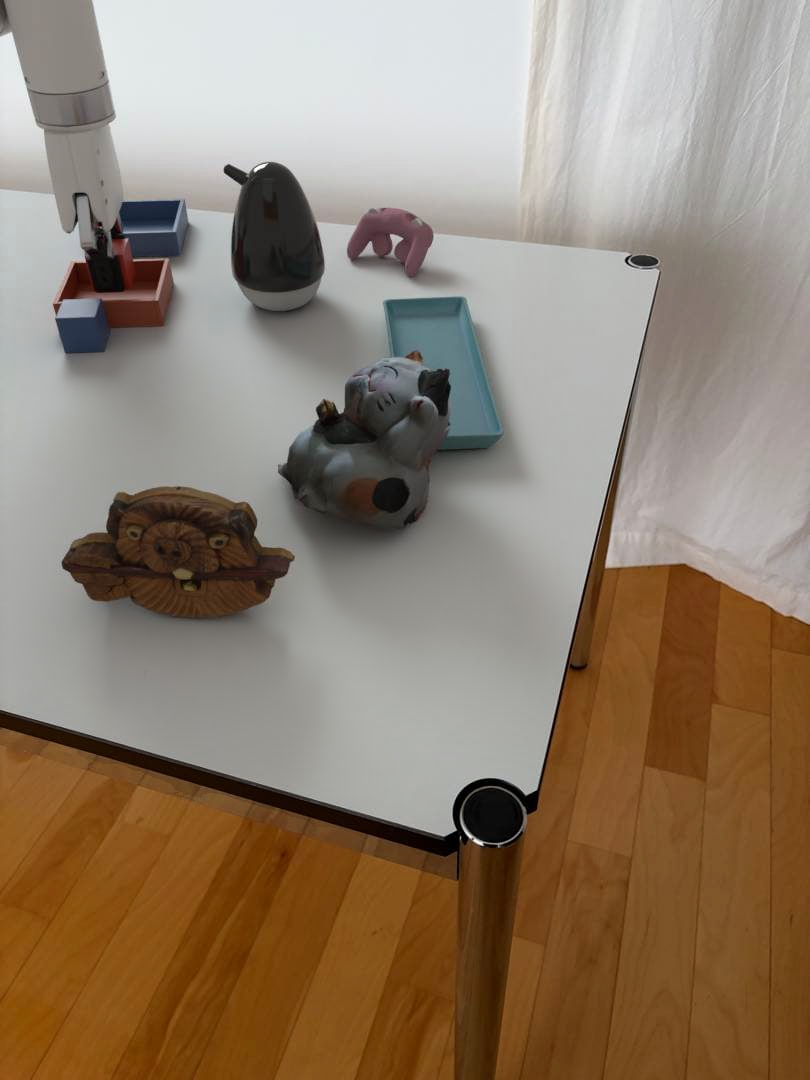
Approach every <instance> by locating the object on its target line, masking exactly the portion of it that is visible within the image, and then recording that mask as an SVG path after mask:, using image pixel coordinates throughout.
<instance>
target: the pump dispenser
mask: <svg viewBox="0 0 810 1080" xmlns="http://www.w3.org/2000/svg"><path fill="white" fill-rule="evenodd" d="M223 173H224V174H225V175H226V176H227V177H229V178H230V179H231V180H233V181H234V182H235V183H237V184H238V185H240V186H241V187H240V190H239V193H238V197H237V200H236V203H235V207H234V213H233V219H232V226H231V234H230V265H231V266H230V268H231V274H232V277H233V279H234V281H235V282H237V286H238V287H239V289H240V291H241V293H242V294H243V295H244V297H245V298H246V300H247V301H249V302H250V303H251V304H253V305H254V306H256V307H259V308H261V309H264V310H267V311H272V312H286V311H291V310H295V309H298V308H301V307H302V306H304V305H305V304H307V303H308V302H310V301H311V300H312V299H313V298H314V296H315V295H316V293H317V292H318V290H319V288H320V285H321V282H322V278H323V276H324V274H325V271H326V261H325V254H324V248H323V244H322V243H323V242H322V239H321V234H320V230H319V226H318V224H317V221H316V218H315V214H314V212H313V208H312V206H311V204H310V202H309V199H308V197H307V194H306V192H305V191H304V189H303V186H302V185H301V184H300V181H299V179H298V178H297V177H296V175H295V174H294V173H293V172H292V171H291V169H290V168H288V167H287V166H286V165H284V164H282V163H279V162H276V161H263V162H260V163H258V164H257V165H254V166H253V167H252V168H251V169H250V170H249V172H246V171H245V170H242V169H240V168H238V167H236V166H234V165H232V164H230V163H226V164H224V167H223Z"/></svg>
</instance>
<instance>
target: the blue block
mask: <svg viewBox="0 0 810 1080" xmlns="http://www.w3.org/2000/svg"><path fill="white" fill-rule="evenodd" d="M54 320H55V324H56V327H57V330H58V334H59V338H60V341H61V344H62V347H63V351H64V354H72V353H103V352H105V349H106V347H107V346H106V345H107V343H108V339H109V336H110V333H111V331H110V327H109V326H108V322H107V318H106V314H105V310H104V306H103V302H102V299H70V300H63V301H62V303H61V306H60V308H59V310H58V313H57V315H56V314H55V318H54Z"/></svg>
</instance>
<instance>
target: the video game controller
mask: <svg viewBox="0 0 810 1080" xmlns="http://www.w3.org/2000/svg"><path fill="white" fill-rule="evenodd" d="M391 235H394V236H397V237H399V238H401V240H400V241H399V242H397V244H396V245H395V247H394V246H393V245H394V244H393V240H392V238H391ZM434 237H435V236H434V231H433V229H432V227H431V225H429V224H428V223H427V222H425V221H424V220H422V219H421V218H420V217H419V216H417V215H416V214H414V213H412V212H410V211H407V210H404V209H401V208H395V207H374V208H373V207H372V208H369V210H368V212H366V213H364V214H362V216H361V218H360V220H359V221H358V224H357V226H356V227H355V229H354V231H353V233H352V235H351V236H350V239H349V241H348V243H347V245H346V246H347V248H346V255H347V258H348V259H349V260H354V259H356V258H358V257H359V256H360V255H361V254H362V253H364V250H365V249H366V248H367V246H368V245H369V244H370V242H371V247H372V251H373V252H374V254H375V255H377V256H384V257H386V256H389V255H390V254H391V253H392V251H393V255H394V258H395V259H396V260H397V261H399V262H400V263H405V265H404V272H405V275H406V276H407V277H412V276H414V275H416V274H417V273H418V271H419V270H420V268H421V267H422V266H423V264H424V261H425V259H426V256H427V253H428V251H429V249H430V247H431V246H432V245H433V242H434ZM393 247H394V250H393Z"/></svg>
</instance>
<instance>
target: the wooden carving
mask: <svg viewBox="0 0 810 1080" xmlns="http://www.w3.org/2000/svg"><path fill="white" fill-rule="evenodd" d="M257 526H258V518H257V515H256V513H255V511H254V509H253V507H252V506H251V505H250V504H249V502H246V501H240V502H234V501H233V500H230V499H228V498H226V497H223V496H222V495H218V494H217V493H216V494H215V493H212V492H209V491H205V490H204V491H203V490H200V489H198V488H194V487H189V486H181V485H176V486H169V485H167V486H166V485H163V486H157V487H152V488H148V489H145V490H142V491H139V492H136V493H134V494H129V493H128V492H125V491H118V492H117V493H116V494H115V495H114V497H113V500H112V503H111V504H110V506H109V508H108V516H107V520H106V523H105V529H106V532H104V531H101V532H99V531H98V532H92V533H88V534H86V535H85V536H83V537H81V538H77V539H74V540H73V541H72V542H71V544H70V546H69V549H68V551H67V553H66V554H65V555H64V557H63V558H62V560H61V567H62V568H61V569H62V570H63V571H65V572H68V573H69V574H70V576H71V578H72V579H73V581H74V582H75V583H77V584H81V585H82V586H83V589H84V591H85V593H86V595H87V596H88V598H89V599H91V600H92V601H96V602H105V603H109V602H113V601H119V600H122V599H123V600H124V599H126V598H129V599H130V601H131V602H132V603H133V604H134V605H136V606H139V607H141V608H143V609H146V610H148V611H152V612H153V613H158V614H163V615H166V616H172V617H178V618H192V619H193V618H199V619H201V618H209V617H223V616H228V615H233V614H237V613H240V612H243V611H246V610H249V609H250V608H253V607H256V606H259V605H261V604H263V603H265V601H268V599H269V598H270V597H271V593H272V589H274V587H275V583H276V581H277V580H278V579H281V578H284V577H285V576H287V574H288V573H289V570H290V565H291V563H293V562H294V561H295V558H296V556H295V555H294V554H293V553H292V552H291V551H290V550H287V549H286V548H284V547H269V546H268V547H267V546H262V544H261V543H260V541H259V539H258V538H257V536H256V535H255V533H256V530H257Z"/></svg>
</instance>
